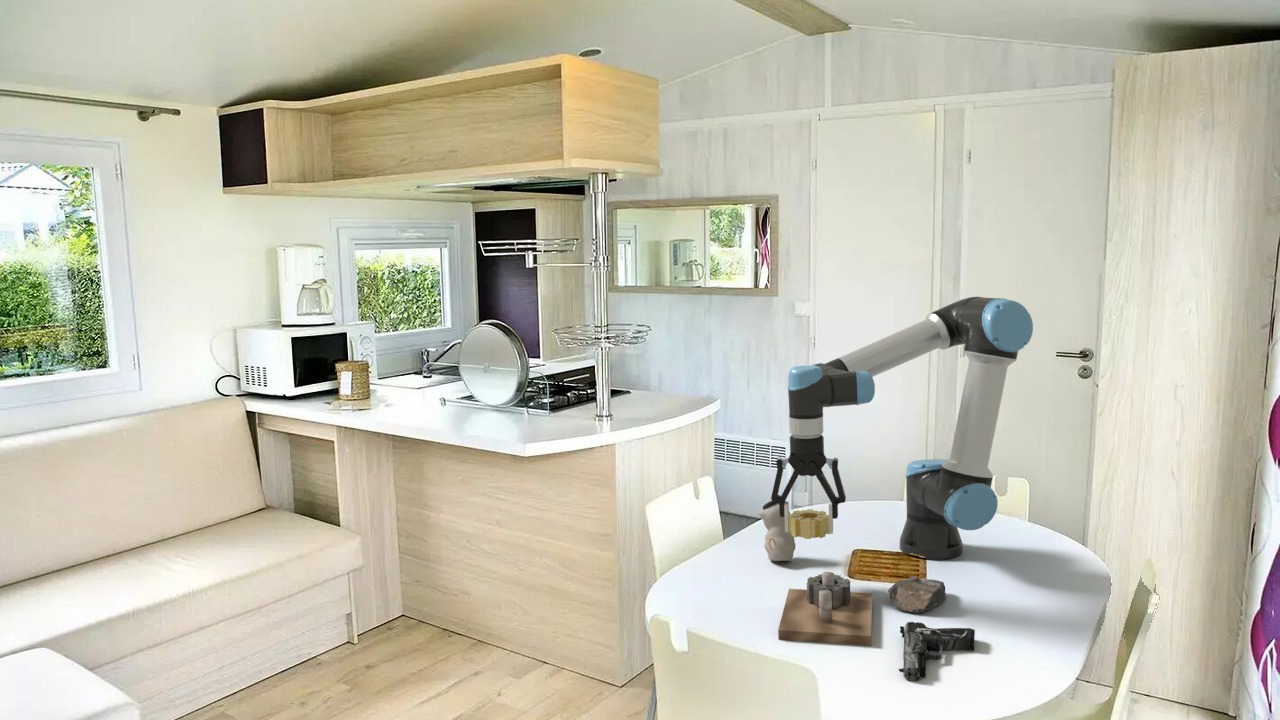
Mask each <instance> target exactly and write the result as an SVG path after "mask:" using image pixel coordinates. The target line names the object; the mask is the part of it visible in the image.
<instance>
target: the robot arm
mask: <svg viewBox="0 0 1280 720" xmlns="http://www.w3.org/2000/svg"><path fill="white" fill-rule="evenodd" d="M1033 332H1034V323H1033V318H1032V317H1031V314H1030V313H1029V311H1028V310H1027V308H1026V307H1025V306H1024V305H1023V304H1021V303H1020V302H1018V301H1016V300H1011V299H1008V298H1006V297H1005V298H1002V297H1001V298H1000V297H997V298H996V297H983V296H971V297H966V298H963V299H960V300H957V301H955V302H952V303H949V304H947V305H946V306H943V307H941V308H939V309H937V310H935V311H932V312H930V313H928V314H926V316H925V319H924V320H922V321H920V322H917V323H914V324H913V325H911V326H908V327H906V328H904V329H901V330H900V331H896V332H894V333H892V334H890V335H888V336H885V337H883V338H881V339H878V340H876V341H874V342H872V343H870V344H867V345H865V346H863V347H861V348H859V349H855V350H854V351H851V352H849V353H847V354H845V355H842V356H839V357H838V358H835V359H832V360H830V361H828V362H825V363H822V362H819V363H813V364H810V365H797V366H793V367H792V368H789V370H788V376H787V377H788V378H787V393H788V395H787V396H788V410H789V412H788V420H789V421H788V424H789V425H788V426H789V434H790V436H789V456H788V457H781V456H779V457H778V458H777V459H776V469H777V470H776V474H775V478H774V483H773V484H774V485H773V488H772V491H771V492H772V493H771V496H770V497H771V498H770V499H771V500H770V501H776V502H778V503H779V508H780V517H785V532H789V528H788V515H789V512H790V504H789V501H787V498H788V496H789V494H790V492H791V490H792V488H793V487H794V484H795V482H796V480H797V479H798V477H799V476H800V477H806V476H809V477H816V479H817V481H818V482H819V483H820V485H821V487H822V488H823V490H824V492H825V494H826V496H827V498H828V499H829V502H828V515H829V534H828V535H832V534H834V520H835V519H838V516H839V504H843V503H845V502H846V499H847V496H846V493H845V489H844V486H843V482H842V479H841V476H840V471H839V468H838V467H839V459H838V457H833V458H829V457H827V456H826V455H825V446H824V445H825V441H824V436H823V433H824V408H831V407H843V406H859V405H863V404H868V403H870V402H872V400H873V399H874V397H875V392H876V387H875V385H876V384H875V379H874V378H873V377H875V376H878V375H880V374H883V373H885V372H887V371H890V370H891V369H894V368H896V367H898V366H901V365H902V364H905V363H907V362H909V361H912V360H914V359H916V358H919V357H921V356H924V355H926V354H928V353H930V352H932V351H935V350H937V349H940V350H943V351H944V350H948V349H950V348H952V347H956V346H961V345H964V348H963V349H964V350H963V353H964V355H965V356H966V357H967V358H968V363H967V364H968V365H967V369H966V373H965V378H964V379H965V380H964V383H963V384H964V385H963V389H962V395H961V399H960V404H959V405H960V406H959V409H958V414H957V418H956V419H957V420H956V424H955V431H954V434H953V435H954V436H953V441H952V445H951V450H950V456H949V458H948V459H943V458H940V459H918V460H914V461H910V462H909V463H908V464H907V465H906V472H905V482H906V483H905V484H906V486H905V488H906V520H905V523H904V526H903V529H902V532H901V535H900V538H899V550H900V551H901V552H902V553H903V552H905V553H913V554H920V555H923V556H925V557H926V559H925V560H931V561H932V560H935V561H936V560H937V561H938V560H940V561H941V560H949V559H954V558H956V557H959V556H961V555H962V554H963V550H964V549H963V540H962V538H961V535H960V532H959V529H961V530H965V531H975V530H980V529H982V528H983V527H984V526H985V525H987V524H989V523H990V522H991V521H992V520H993V518H994V516H995V515H996V512H997V510H998V503H999V502H998V501H999V500H998V496H997V495H996V493H995V491H994V490H993V488H992V482H993V478H994V474H993V473H992V471H991V470H990V469H989V463H990V458H991V452H992V448H993V447H992V446H993V441H994V437H995V431H996V427H997V423H998V417H999V412H1000V407H1001V402H1002V397H1003V392H1004V388H1005V383H1006V377H1007V373H1008V372H1007V371H1008V369H1009V368H1008V367H1009V366H1010V365H1012V364H1013V363H1015V362H1016V361H1017V358H1018V354H1019V351H1020V350H1022V349H1024V348H1025V346H1026V345H1028V344H1029V342H1030V341H1031V339H1032V336H1033ZM787 464H789V465H790V466H791V468H792V469H793V472H792V474H791V476H790V478H789V480H788V482H787V484H786V486H785V488H784V490H783V492H782V493H781V495H779V491H780V487H781V481H782V477H783V475H784V474H783V473H784V469H785V468H786V467H787ZM825 464H827V467H828V468H829V469H831V473H832V477H833V481H834V484H835V488H836V491H837V495H838V496H837V495H836V494H835V492H834V490H833V488H832V487H831V485H830V483H829V482H828V480H827V478H826V476H825V474H824V471H823V467H824V466H825ZM905 553H904V554H905Z"/></svg>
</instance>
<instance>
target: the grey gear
mask: <svg viewBox="0 0 1280 720" xmlns="http://www.w3.org/2000/svg"><path fill="white" fill-rule="evenodd" d="M806 590H807V601H808V602H809V603H813V604H815V605H816V606H817V607H819V591H821V590H829V591H831V592H832V608H839V606H842V605H848V604H849V603H850V592H851V580H850V579H849V578H844V577H841V575H839V574H834V585H829V586H827V585H823V584H822V573H821V574H818V575H815V576H813V577H812V576H809V577H808V578H807V582H806Z"/></svg>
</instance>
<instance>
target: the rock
mask: <svg viewBox="0 0 1280 720" xmlns="http://www.w3.org/2000/svg"><path fill="white" fill-rule="evenodd" d="M887 593H888V597H889V600H890V602H891V604H892V605H893V606H894V608H895V609H896V610H899V611H901V612H904V613H922V612H926V611H928V610H931V609H933V608H936V607H937V606H938V605H940V604H942V603H943V602H944V601H945V600H946V599H947V596H946V585H945V583H944V581H940V580H938V579H929V578H919V577H918V576H909V577H907V578H906V579H900V580H898V581H896V582H895V583H894V584H893V585H891V587H890V588H888V590H887Z"/></svg>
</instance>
